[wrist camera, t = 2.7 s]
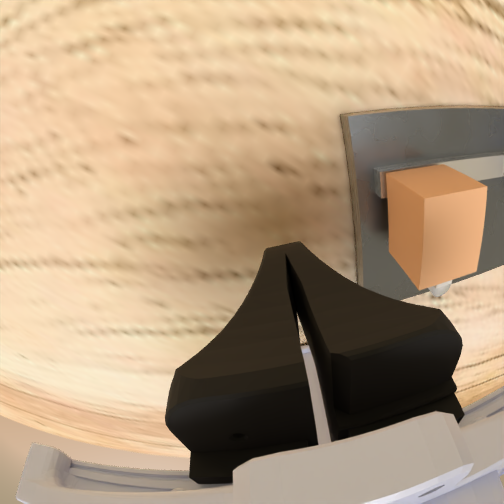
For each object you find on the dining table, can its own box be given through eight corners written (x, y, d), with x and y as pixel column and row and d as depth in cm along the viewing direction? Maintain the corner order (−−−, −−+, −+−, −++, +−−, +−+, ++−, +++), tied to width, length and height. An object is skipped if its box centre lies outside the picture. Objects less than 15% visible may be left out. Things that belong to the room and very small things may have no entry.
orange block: (434, 253, 16) (471, 293, 13) (384, 267, 17) (415, 313, 13) (437, 161, 13) (487, 186, 10) (380, 169, 14) (424, 198, 10)
